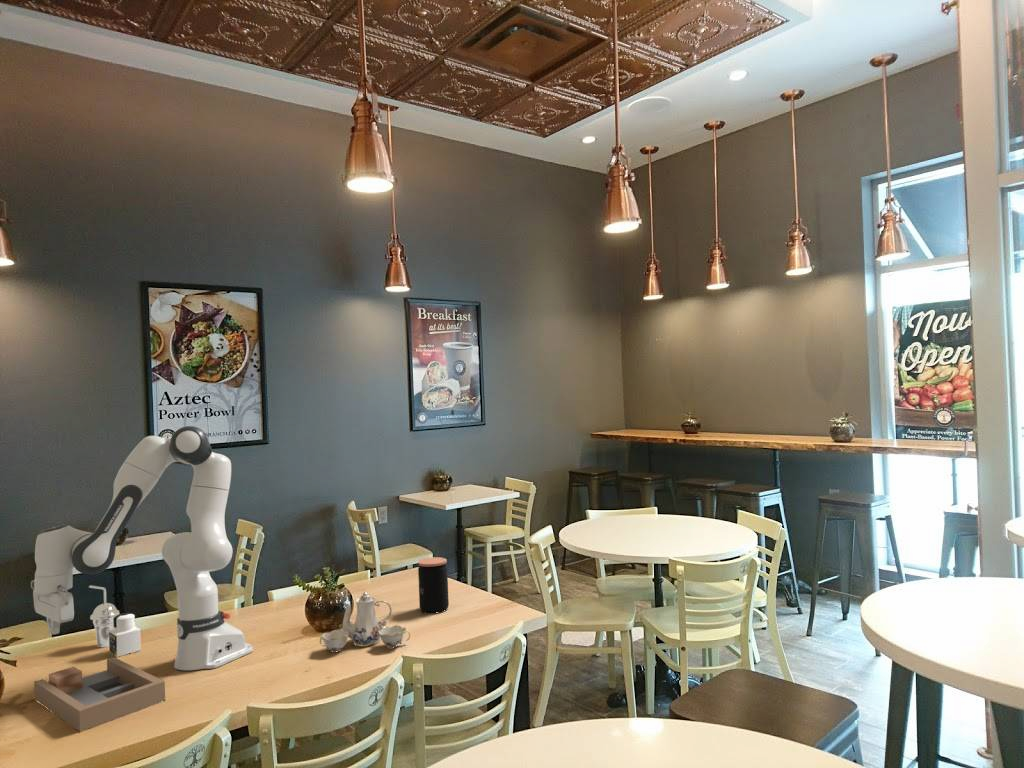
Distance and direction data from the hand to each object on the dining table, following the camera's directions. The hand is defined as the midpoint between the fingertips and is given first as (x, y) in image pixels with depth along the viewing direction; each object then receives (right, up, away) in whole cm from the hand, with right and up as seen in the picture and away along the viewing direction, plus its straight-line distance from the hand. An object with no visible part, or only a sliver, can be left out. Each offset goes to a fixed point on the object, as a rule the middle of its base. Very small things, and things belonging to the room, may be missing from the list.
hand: (54, 633), depth 187 cm
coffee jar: (+101, -13, +57) cm, 117 cm away
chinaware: (+83, -13, +24) cm, 87 cm away
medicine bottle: (+4, -17, +27) cm, 32 cm away
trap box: (+18, -15, -9) cm, 25 cm away
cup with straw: (-7, -17, +34) cm, 39 cm away
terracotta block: (+7, -13, -6) cm, 16 cm away
